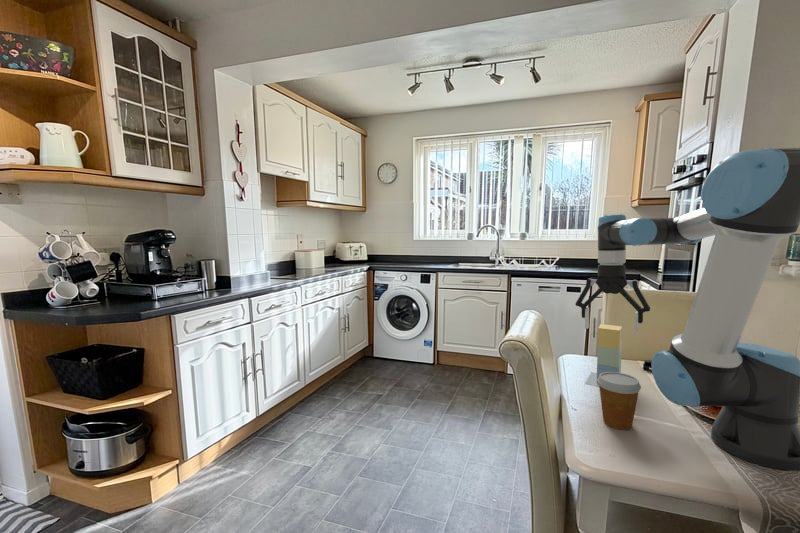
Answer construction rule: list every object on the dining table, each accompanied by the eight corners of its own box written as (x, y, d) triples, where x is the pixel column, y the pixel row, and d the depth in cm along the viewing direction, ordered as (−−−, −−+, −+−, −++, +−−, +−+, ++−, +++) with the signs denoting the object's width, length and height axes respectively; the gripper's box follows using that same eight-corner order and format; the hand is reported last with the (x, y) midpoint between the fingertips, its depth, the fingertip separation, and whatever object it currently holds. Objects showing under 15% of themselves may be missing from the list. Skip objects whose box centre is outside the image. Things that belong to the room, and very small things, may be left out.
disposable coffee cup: (595, 411, 96) (596, 369, 95) (636, 418, 92) (637, 374, 91) (597, 428, 88) (598, 382, 87) (643, 437, 84) (644, 388, 83)
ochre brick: (619, 349, 109) (619, 330, 108) (597, 346, 112) (597, 327, 112) (621, 344, 113) (622, 326, 113) (600, 341, 117) (600, 324, 117)
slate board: (629, 395, 105) (629, 393, 105) (584, 386, 113) (584, 383, 112) (632, 382, 115) (632, 379, 115) (591, 374, 122) (591, 372, 122)
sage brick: (619, 368, 109) (619, 349, 109) (597, 364, 113) (597, 346, 112) (621, 362, 114) (621, 344, 113) (600, 359, 118) (600, 341, 117)
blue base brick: (618, 387, 109) (618, 368, 109) (596, 382, 113) (597, 364, 113) (620, 380, 114) (620, 362, 114) (599, 376, 118) (599, 359, 117)
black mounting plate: (627, 370, 126) (627, 358, 126) (640, 367, 129) (641, 355, 129) (664, 383, 115) (665, 369, 114) (678, 379, 118) (678, 366, 117)
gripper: (660, 263, 106) (659, 333, 107) (571, 263, 121) (570, 323, 122) (660, 265, 100) (659, 338, 101) (566, 264, 115) (565, 328, 116)
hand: (610, 330), depth 112 cm, fingers open, 13 cm apart
